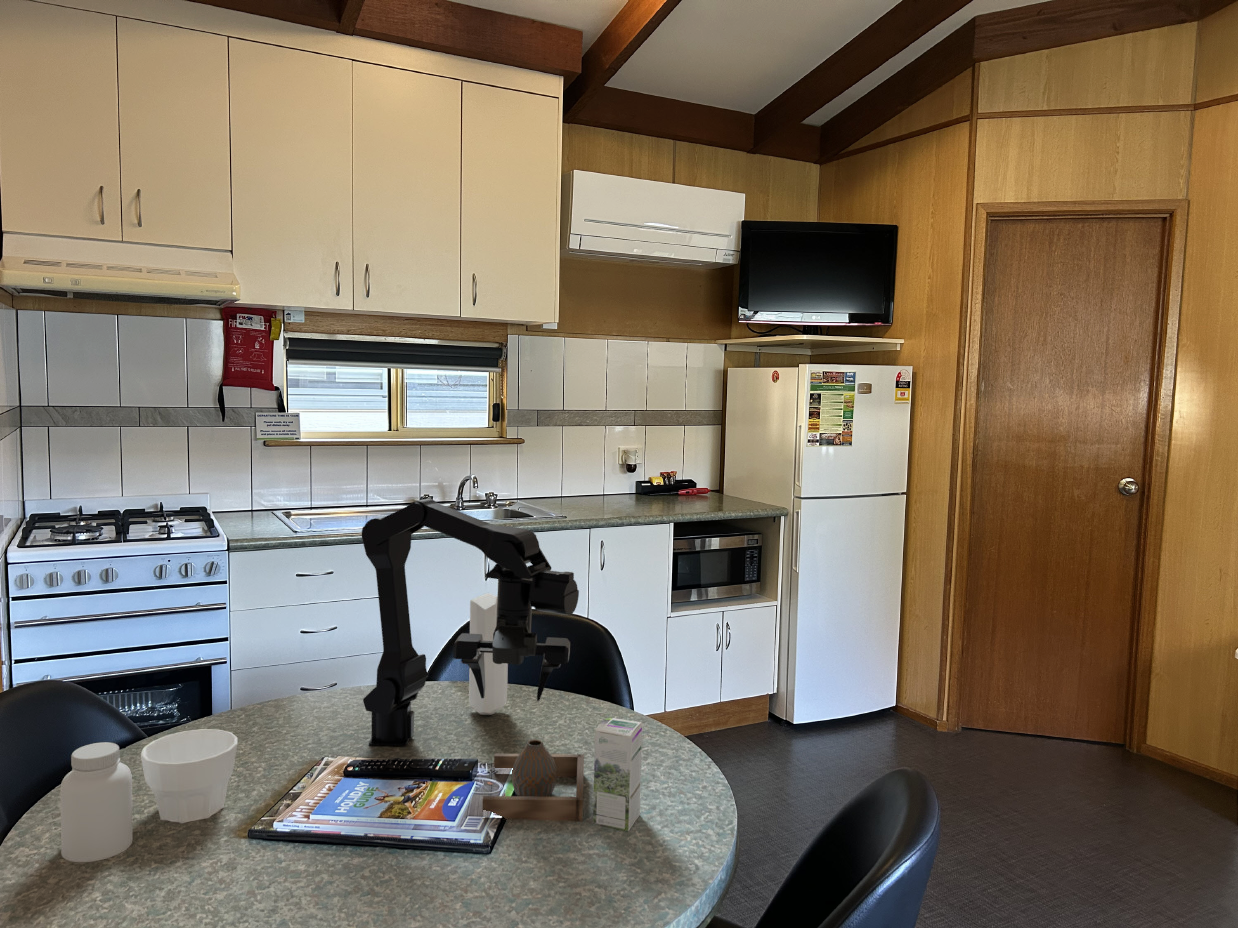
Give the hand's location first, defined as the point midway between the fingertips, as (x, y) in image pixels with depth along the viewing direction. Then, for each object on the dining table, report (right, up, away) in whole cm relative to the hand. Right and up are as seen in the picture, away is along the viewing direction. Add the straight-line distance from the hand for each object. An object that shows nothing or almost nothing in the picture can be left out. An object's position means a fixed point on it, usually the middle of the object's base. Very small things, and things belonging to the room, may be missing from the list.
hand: (510, 698), depth 143 cm
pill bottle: (-50, -13, -31) cm, 60 cm away
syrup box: (+18, -14, -16) cm, 28 cm away
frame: (+5, -13, -10) cm, 17 cm away
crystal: (-8, -10, +23) cm, 26 cm away
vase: (+5, -13, -10) cm, 17 cm away
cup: (-43, -12, -20) cm, 49 cm away
